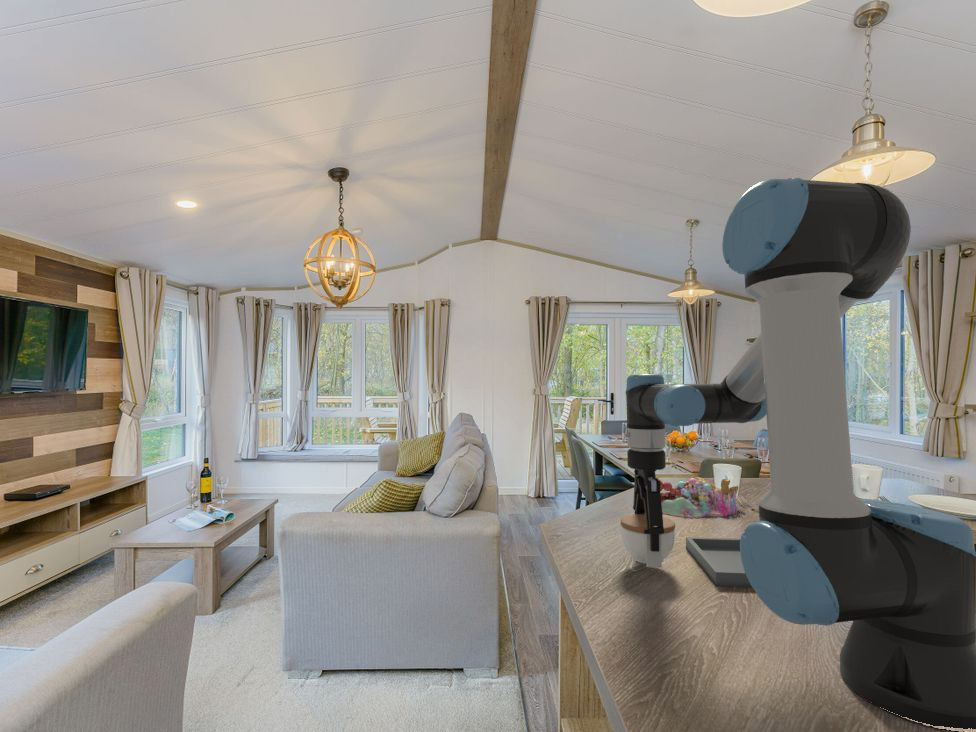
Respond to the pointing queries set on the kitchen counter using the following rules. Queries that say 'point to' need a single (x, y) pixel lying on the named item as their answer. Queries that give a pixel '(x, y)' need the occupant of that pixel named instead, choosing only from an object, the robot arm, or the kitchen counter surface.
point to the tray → (719, 559)
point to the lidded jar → (637, 539)
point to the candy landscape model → (698, 498)
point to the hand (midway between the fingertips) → (647, 556)
